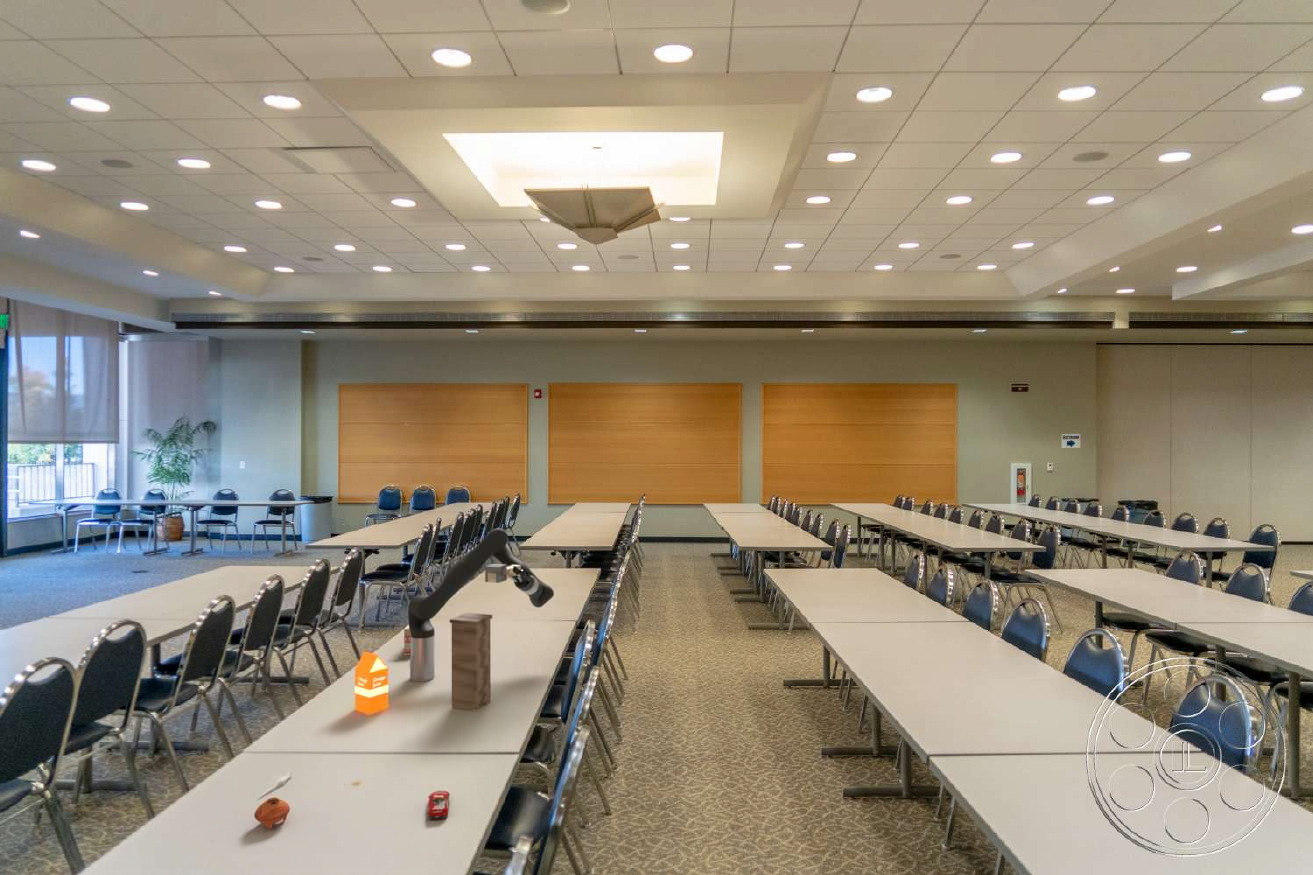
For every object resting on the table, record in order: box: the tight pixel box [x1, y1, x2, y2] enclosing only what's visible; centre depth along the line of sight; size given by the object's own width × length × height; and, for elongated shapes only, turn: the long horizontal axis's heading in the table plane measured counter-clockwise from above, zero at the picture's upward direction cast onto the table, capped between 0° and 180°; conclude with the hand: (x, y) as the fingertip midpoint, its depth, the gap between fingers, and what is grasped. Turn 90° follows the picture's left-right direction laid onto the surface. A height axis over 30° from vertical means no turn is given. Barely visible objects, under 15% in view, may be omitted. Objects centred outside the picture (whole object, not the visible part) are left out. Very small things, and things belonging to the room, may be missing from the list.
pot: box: [253, 797, 291, 830], centre depth 191 cm, size 8×8×7 cm
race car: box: [427, 790, 451, 820], centre depth 199 cm, size 13×5×4 cm, turn 12°
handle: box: [484, 563, 521, 584], centre depth 301 cm, size 20×6×6 cm, turn 162°
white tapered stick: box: [256, 771, 293, 801], centre depth 211 cm, size 15×3×2 cm, turn 171°
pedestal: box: [449, 612, 493, 712], centre depth 277 cm, size 11×11×32 cm
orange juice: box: [354, 651, 389, 715], centre depth 273 cm, size 8×9×20 cm
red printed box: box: [403, 624, 411, 656], centre depth 353 cm, size 21×6×12 cm, turn 5°
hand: (509, 568), depth 304 cm, fingers closed on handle, 3 cm apart
